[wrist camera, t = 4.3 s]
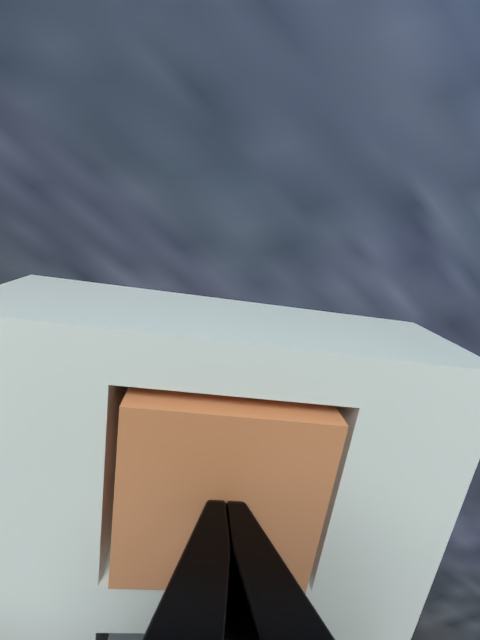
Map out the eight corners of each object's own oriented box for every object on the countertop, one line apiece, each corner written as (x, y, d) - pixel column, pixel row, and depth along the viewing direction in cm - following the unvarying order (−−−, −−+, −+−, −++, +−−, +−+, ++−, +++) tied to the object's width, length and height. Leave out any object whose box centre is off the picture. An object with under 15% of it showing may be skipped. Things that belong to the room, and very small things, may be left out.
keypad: (292, 742, 18) (315, 889, 14) (36, 749, 16) (-18, 914, 12) (413, 322, 12) (512, 373, 8) (31, 274, 10) (-74, 308, 7)
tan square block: (282, 501, 12) (305, 593, 9) (134, 493, 11) (108, 588, 8) (310, 369, 10) (348, 426, 8) (145, 351, 10) (119, 406, 7)
